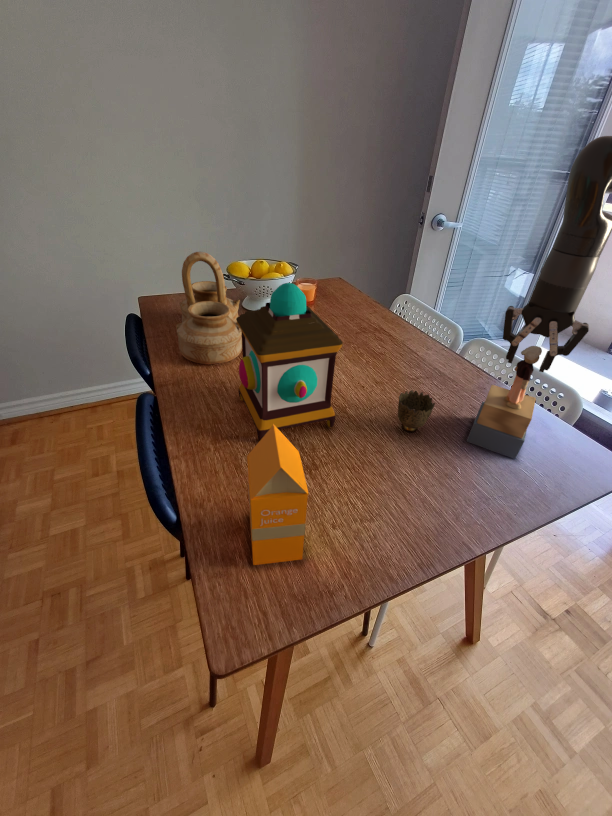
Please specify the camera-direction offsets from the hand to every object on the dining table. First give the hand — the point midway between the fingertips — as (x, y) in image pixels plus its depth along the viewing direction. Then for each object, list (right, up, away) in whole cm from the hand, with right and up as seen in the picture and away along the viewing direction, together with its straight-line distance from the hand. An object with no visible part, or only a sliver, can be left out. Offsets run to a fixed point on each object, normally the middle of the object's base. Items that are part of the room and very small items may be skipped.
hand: (525, 365), depth 77 cm
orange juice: (-48, -29, -14) cm, 58 cm away
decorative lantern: (-48, -10, +14) cm, 51 cm away
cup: (-20, -13, +12) cm, 26 cm away
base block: (-1, -15, +11) cm, 18 cm away
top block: (-1, -11, +8) cm, 13 cm away
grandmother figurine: (0, -7, +5) cm, 9 cm away
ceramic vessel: (-71, +12, +41) cm, 83 cm away
